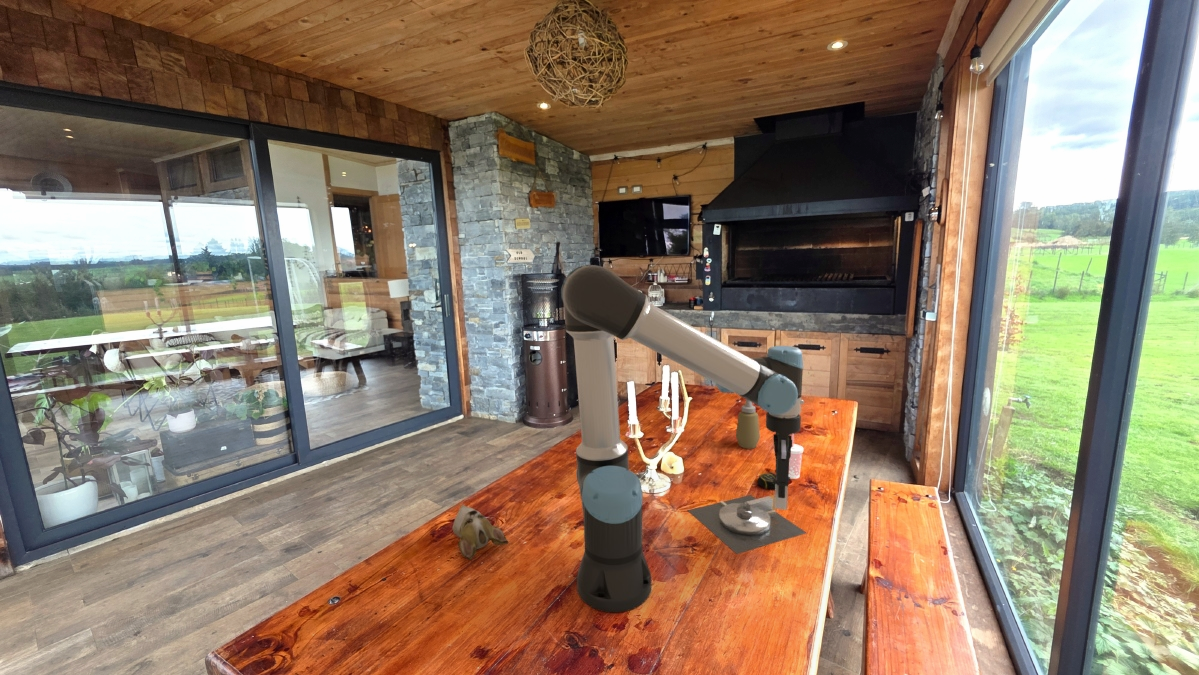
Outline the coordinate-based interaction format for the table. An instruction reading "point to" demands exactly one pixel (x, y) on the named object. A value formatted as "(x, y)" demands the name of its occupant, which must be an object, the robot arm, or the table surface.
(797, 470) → the beverage cup
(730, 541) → the plate
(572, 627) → the table surface
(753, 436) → the squeeze bottle
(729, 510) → the dial
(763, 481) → the tape measure
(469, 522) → the ceramic sculpture
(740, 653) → the table surface
